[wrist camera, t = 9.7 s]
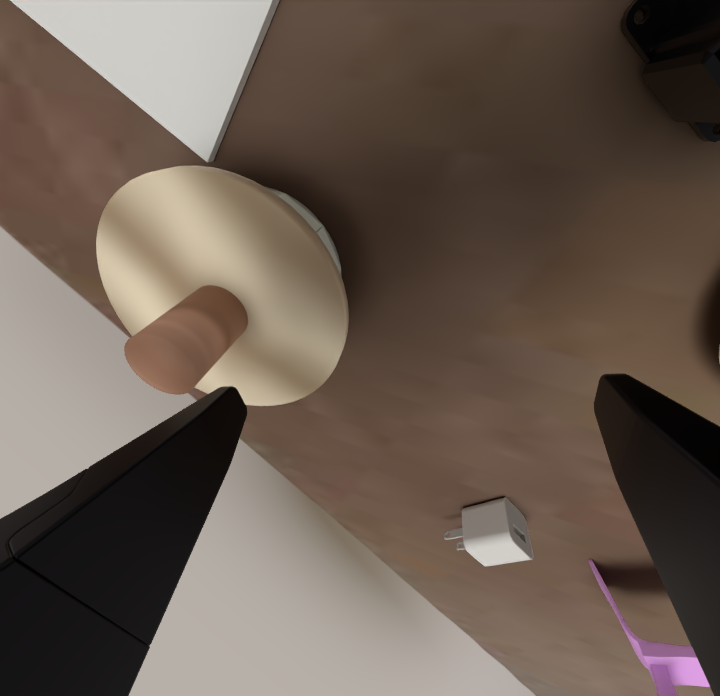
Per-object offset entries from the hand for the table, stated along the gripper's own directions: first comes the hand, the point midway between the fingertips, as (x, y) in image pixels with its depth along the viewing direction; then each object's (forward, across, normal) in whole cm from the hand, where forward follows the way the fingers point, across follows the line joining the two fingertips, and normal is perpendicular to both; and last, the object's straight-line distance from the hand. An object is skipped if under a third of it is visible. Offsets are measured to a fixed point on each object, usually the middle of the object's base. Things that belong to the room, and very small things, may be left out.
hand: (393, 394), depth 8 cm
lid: (+8, +10, 0) cm, 13 cm away
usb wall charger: (+13, -3, +28) cm, 31 cm away
